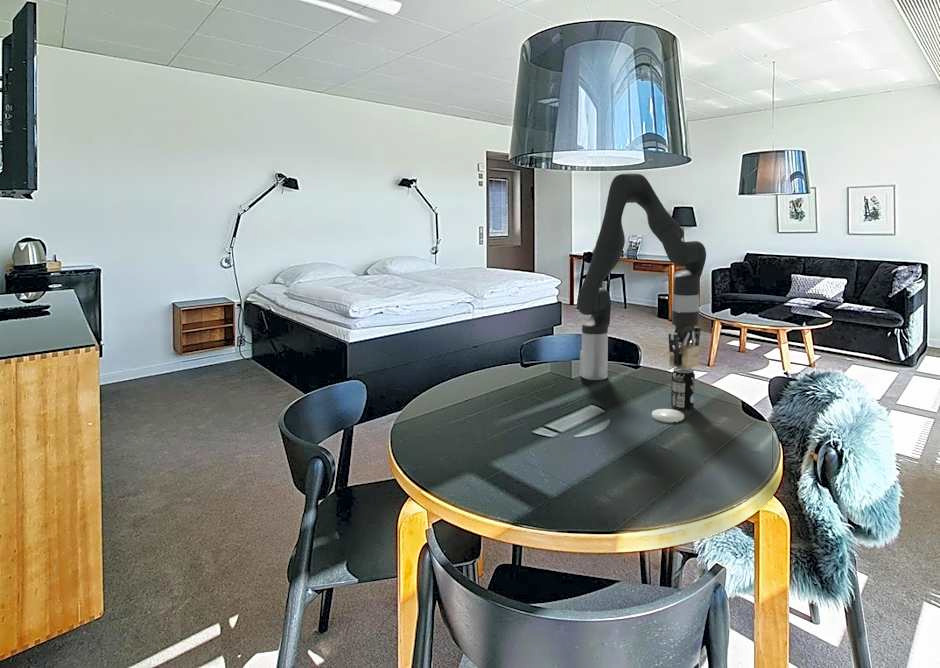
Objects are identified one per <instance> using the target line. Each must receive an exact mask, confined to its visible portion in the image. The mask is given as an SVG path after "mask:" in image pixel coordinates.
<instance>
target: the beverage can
mask: <svg viewBox="0 0 940 668" xmlns="http://www.w3.org/2000/svg"><path fill="white" fill-rule="evenodd" d="M695 378H696V374H695V373H694V368H690V369H684V368H679V367H674V368H673V371H672V373H671V391H670V392H671V393H670V404H671V406H672V407H673V408H674V407H675V408H674V409H676V408H678V409H677V410H681V409H688V410H691V409H692V408H693V407H694V405H695V384H696V379H695ZM690 408H691V409H690Z"/></svg>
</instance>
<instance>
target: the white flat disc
mask: <svg viewBox="0 0 940 668" xmlns="http://www.w3.org/2000/svg"><path fill="white" fill-rule="evenodd" d="M651 418H652V419H653V420H654V421H657V422H662V423H666V424H667V423H668V424H669V423H670V424H674V423H673V422H676V423H680V422H679V421H681V422H683V421H684V420H685V414H684V413H683V412H682V411H680V410H678V409H671V408H657V409H655V410H652V411H651ZM683 419H684V420H683ZM682 420H683V421H682Z"/></svg>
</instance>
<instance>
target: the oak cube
mask: <svg viewBox="0 0 940 668" xmlns="http://www.w3.org/2000/svg"><path fill="white" fill-rule="evenodd" d="M673 348H674V345H673ZM679 349H680V346H679ZM699 352H700V345H699V346H695V345H688V344H687V345H686V346H685V347H684V348H683V351H682V365H681V366H676V365H674V353H673V352H670V351H669V366H670V367H674V368H677V367H679V368H684V369H690V368H691V369H693V368H694V367H698V366H699V355H700V353H699Z"/></svg>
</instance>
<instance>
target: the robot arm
mask: <svg viewBox="0 0 940 668" xmlns="http://www.w3.org/2000/svg"><path fill="white" fill-rule="evenodd" d="M629 203H630V204H634V203H636V204H637V205H638V206H640V207H641V209H643V210H644V211H645V213H646V217H647V223H648V227H649V228H650V230H651V232H652V233H653V234H654V235H655V237H656V238H657V239H658V240H659V242H660V243H661V244H662V246H663V249H664V252H665V254H666V256H667V258H668V259H669V261H670V262H671V263H672V264H673V265H675V266H677V267H683V270H682V272H681V273H679V274H677V275H676V276H674V280H673V297H672V306H671V307H672V308H671V311H672V312H671V324H672V325H673V326H675V330H674V332H673V333H672V332H669V333H668V350H669V353H670V352H673V353H674V365H676V366H681V365H682V351H683V348H684V347H685V346H686V345H687V344H688V345H695V346H699V347H700V340H701V338H700V337H701V330H702V329H701V327H698V326H699V323H700V279H701V276H702V274H703V270H704V267H705V264H706V260H707V250H706V247H705V245H704V244H703V243H702V242H700V241H698V240H694V241H693V240H691V241H683V239H684V235H685V232H684V229H683V228H682V227H681V225H680V224H679V223H678V222H677V221H676V220H675V219H674V218H673V216H672V215H671V214H670V213H669V211H668V210H667V209H666V208H665V206H664V205H663V203H662V202H661V201H660V198H659V196H658V195H657V194H656V192H655V190H654V188H653V187H652V185H651V183H650V182H649V180H648V179H647V178H646V177H645V176H644V174H641V173H633V172H632V173H629V172H627V173H625V172H624V173H618V174H617V175H616V176H614V178H613V179H612V181H611V183H610V185H609V191H608V195H607V200H606V205H605V210H604V216H603V218H602V219H603V220H602V224H601V227H600V231H599V234H598V236H597V240H596V242H595V247H594V250H593V252H592V253H593V254H592V257H591V261H590V264H589V266H588V270H587V273H586V274H585V275H586V276H585V277H584V278H585V279H584V281H583V282H582V285H581V287H580V290H579V293H578V295H577V299H576V300H577V302H576V303H577V306H576V307H577V310H578V311H579V313H580V314H581V315H584V316H589V315H590V317H589V319H588V320H586V321H585V322H584V323H583V324H582V325H581V350H580V352H579V376H580V377H582V378H583V379H586V380H588V381H602V380H605V379H607V378H608V355H609V354H608V345H609V344H608V343H609V342H608V341H609V340H608V339H609V332H608V331H609V329H608V328H609V326H610V324H611V323H610V322H611V308H612V299H611V295H610V292H609V291H608V290H607V289H606V288H604V287H601V285H602V284H603V283H604V280H605V279H606V278H607V277H608V276H609V274H610V273H611V272H612V271H613V270H614V268H615V267H616V266H617V265H618V263H619V261H620V259H621V257H622V254H623V252H624V247H625V243H626V240H625V239H626V237H625V233H624V227H623V224H622V222H623V221H622V219H623V215H624V210H625V207H626V204H629ZM673 346H674V348H673ZM679 346H680V349H679Z"/></svg>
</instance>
